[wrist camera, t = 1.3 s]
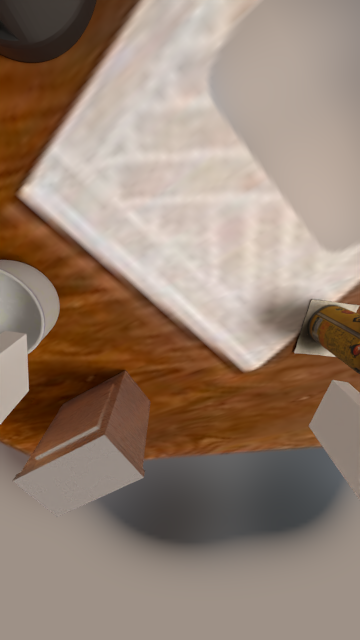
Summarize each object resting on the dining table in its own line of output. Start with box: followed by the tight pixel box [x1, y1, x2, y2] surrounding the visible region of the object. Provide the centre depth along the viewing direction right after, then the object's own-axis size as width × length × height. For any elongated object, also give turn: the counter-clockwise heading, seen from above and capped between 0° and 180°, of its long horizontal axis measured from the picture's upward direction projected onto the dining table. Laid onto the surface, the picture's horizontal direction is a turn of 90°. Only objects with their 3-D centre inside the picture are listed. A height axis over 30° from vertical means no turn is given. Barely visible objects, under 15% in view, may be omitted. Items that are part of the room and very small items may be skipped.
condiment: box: [294, 300, 360, 374], centre depth 30 cm, size 7×8×12 cm
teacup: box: [0, 260, 60, 354], centre depth 28 cm, size 14×11×8 cm
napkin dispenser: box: [13, 370, 150, 517], centre depth 32 cm, size 8×12×13 cm, turn 120°
